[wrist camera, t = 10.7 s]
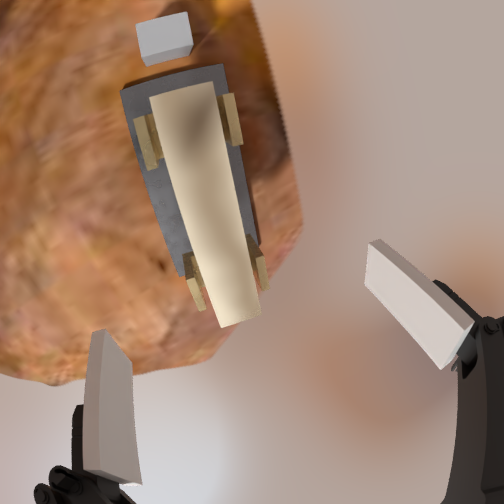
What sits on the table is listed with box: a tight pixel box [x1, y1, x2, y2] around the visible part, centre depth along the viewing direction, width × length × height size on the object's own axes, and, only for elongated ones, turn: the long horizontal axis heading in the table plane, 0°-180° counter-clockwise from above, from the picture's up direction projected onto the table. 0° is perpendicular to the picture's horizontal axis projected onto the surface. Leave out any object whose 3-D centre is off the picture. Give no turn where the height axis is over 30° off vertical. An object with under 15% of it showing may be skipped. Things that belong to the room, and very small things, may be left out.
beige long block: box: [149, 81, 262, 328], centre depth 22 cm, size 4×20×6 cm, turn 10°
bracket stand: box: [120, 63, 270, 312], centre depth 27 cm, size 12×26×14 cm, turn 10°
